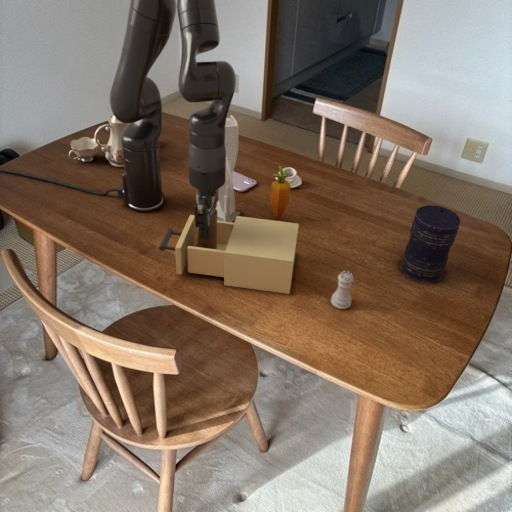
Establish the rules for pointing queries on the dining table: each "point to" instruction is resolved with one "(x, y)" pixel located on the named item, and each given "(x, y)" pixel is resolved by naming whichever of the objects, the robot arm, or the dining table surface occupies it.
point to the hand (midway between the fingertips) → (207, 230)
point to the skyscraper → (228, 174)
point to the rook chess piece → (342, 291)
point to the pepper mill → (212, 240)
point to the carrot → (280, 194)
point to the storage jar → (430, 243)
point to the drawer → (199, 249)
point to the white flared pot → (292, 177)
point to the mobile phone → (242, 182)
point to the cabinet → (261, 254)
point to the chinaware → (89, 147)
